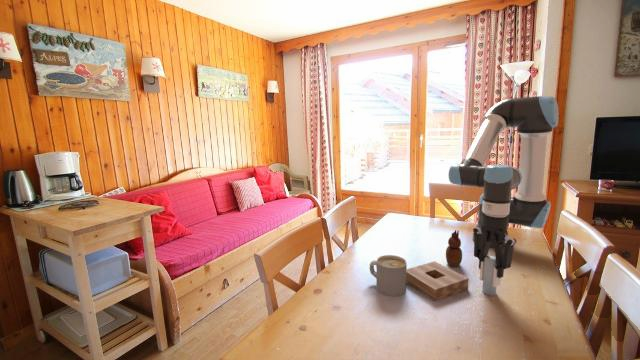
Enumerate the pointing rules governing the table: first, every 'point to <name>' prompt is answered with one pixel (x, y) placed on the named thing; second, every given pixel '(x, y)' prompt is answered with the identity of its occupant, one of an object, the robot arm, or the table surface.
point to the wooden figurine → (454, 250)
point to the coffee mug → (390, 274)
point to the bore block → (436, 280)
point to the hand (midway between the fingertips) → (489, 282)
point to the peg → (489, 276)
